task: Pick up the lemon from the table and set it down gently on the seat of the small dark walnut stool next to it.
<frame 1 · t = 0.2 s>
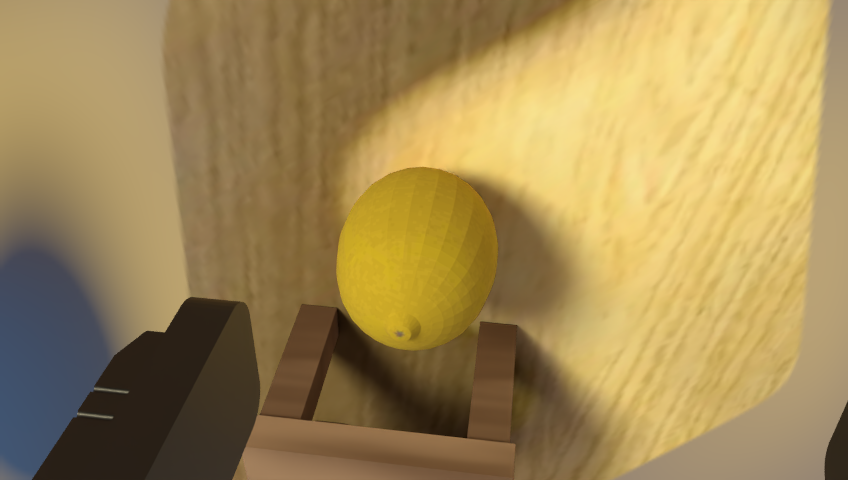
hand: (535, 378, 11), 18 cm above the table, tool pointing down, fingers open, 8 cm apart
stool: (408, 388, 38), on the table
lemon: (432, 187, 31), on the table
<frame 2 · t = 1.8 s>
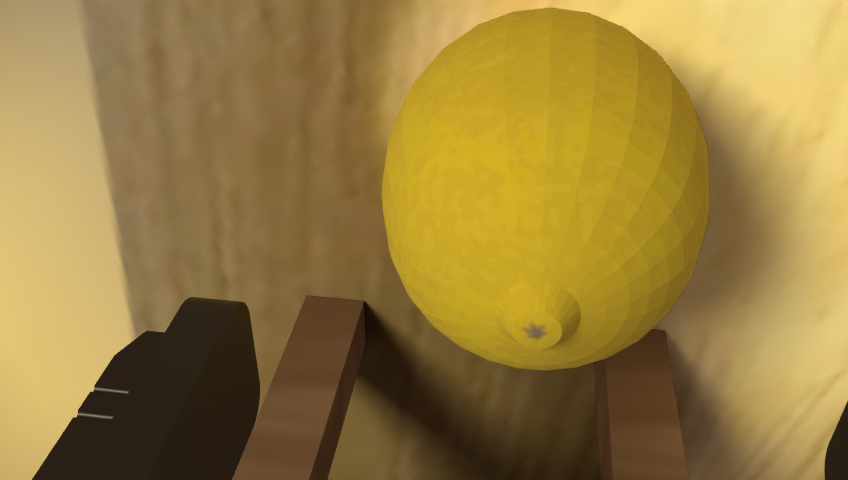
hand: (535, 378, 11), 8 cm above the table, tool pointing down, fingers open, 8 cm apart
stool: (473, 432, 24), on the table
lemon: (544, 79, 17), on the table
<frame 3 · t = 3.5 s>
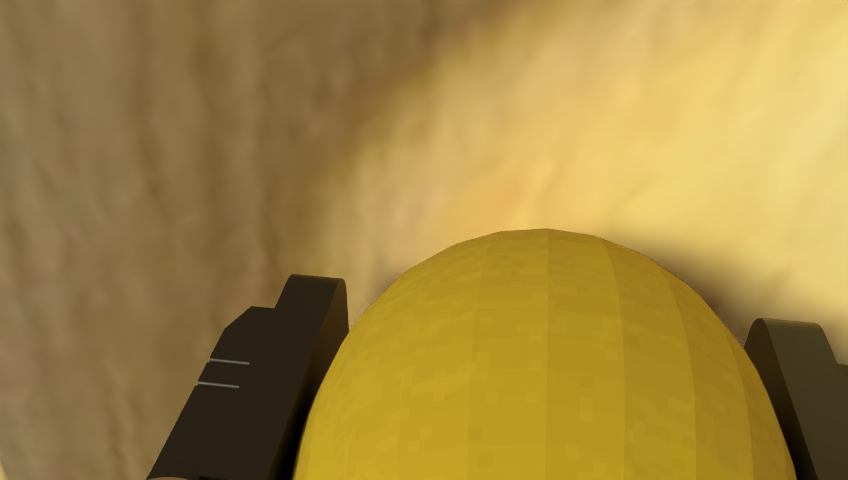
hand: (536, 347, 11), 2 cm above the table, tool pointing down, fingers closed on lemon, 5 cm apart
lemon: (539, 274, 13), on the table, touching gripper
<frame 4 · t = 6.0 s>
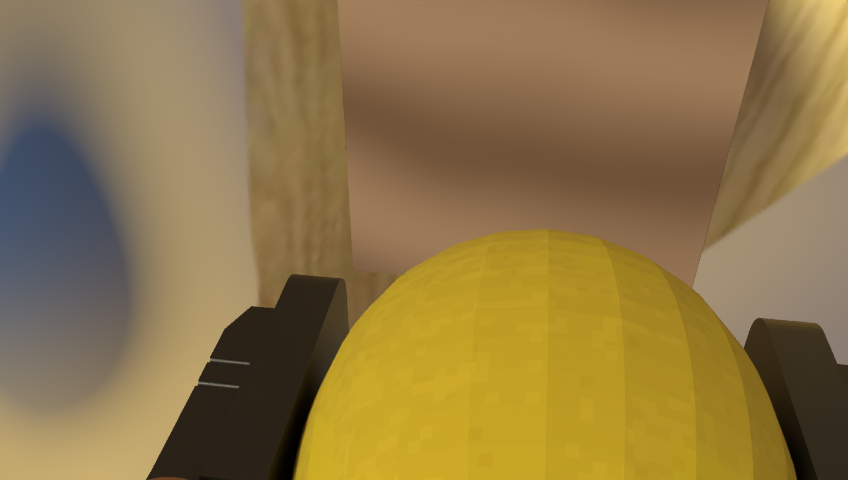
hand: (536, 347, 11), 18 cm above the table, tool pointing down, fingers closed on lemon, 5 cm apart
stool: (538, 26, 27), on the table
lemon: (539, 274, 13), point 17 cm above the table, touching gripper
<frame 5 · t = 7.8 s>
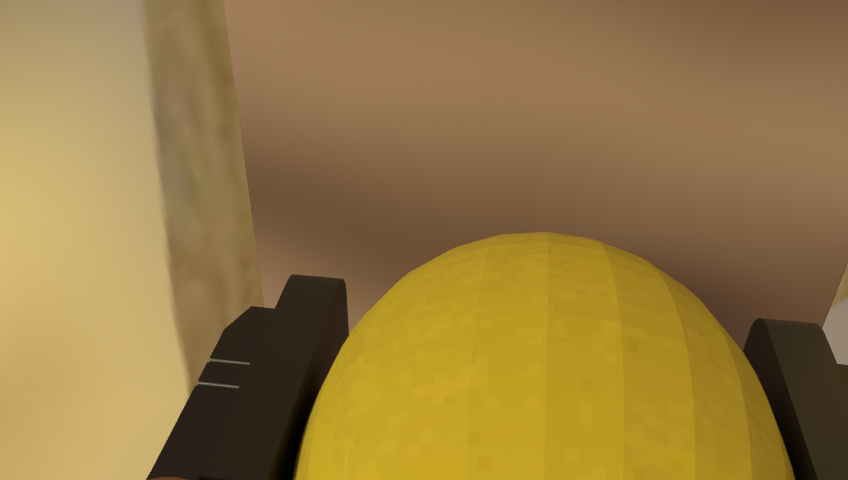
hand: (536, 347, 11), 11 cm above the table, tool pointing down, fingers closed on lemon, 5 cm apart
stool: (543, 62, 20), on the table
lemon: (539, 277, 13), point 9 cm above the table, touching gripper
when the fingers open (10 cm above the table, at t = 8.7 s): lemon stays where it is, resting on stool.
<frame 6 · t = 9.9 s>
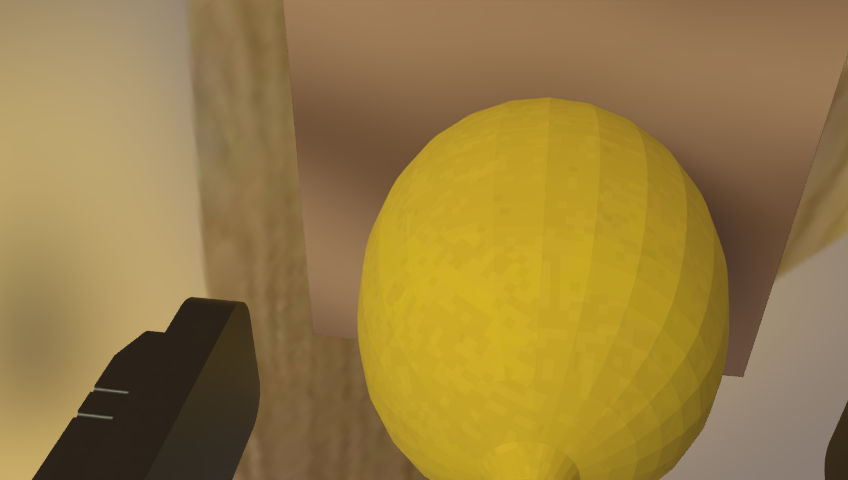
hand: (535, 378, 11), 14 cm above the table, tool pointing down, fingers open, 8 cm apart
stool: (545, 31, 22), on the table
lemon: (545, 159, 16), point 8 cm above the table, touching stool
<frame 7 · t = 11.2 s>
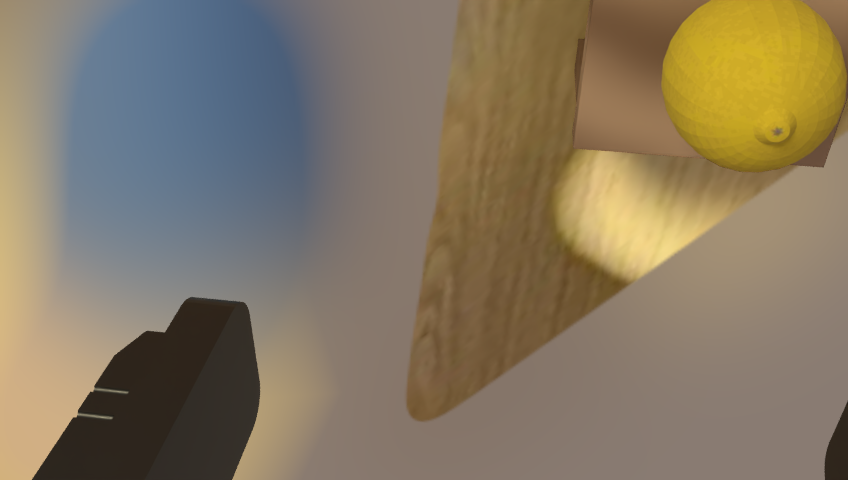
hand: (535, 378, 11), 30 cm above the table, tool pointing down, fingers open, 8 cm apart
lemon: (725, 36, 30), point 8 cm above the table, touching stool
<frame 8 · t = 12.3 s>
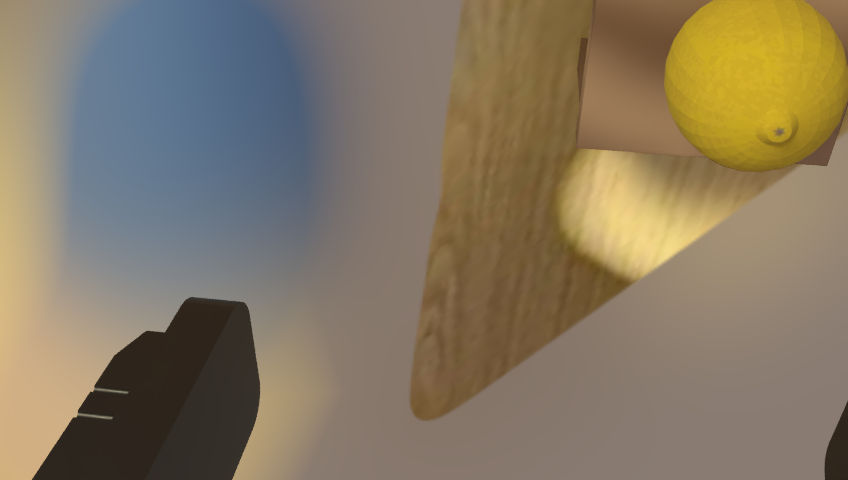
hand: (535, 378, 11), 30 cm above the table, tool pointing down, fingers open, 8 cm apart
lemon: (728, 35, 30), point 8 cm above the table, touching stool
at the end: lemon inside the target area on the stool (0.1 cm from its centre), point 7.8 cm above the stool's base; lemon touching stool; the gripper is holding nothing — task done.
